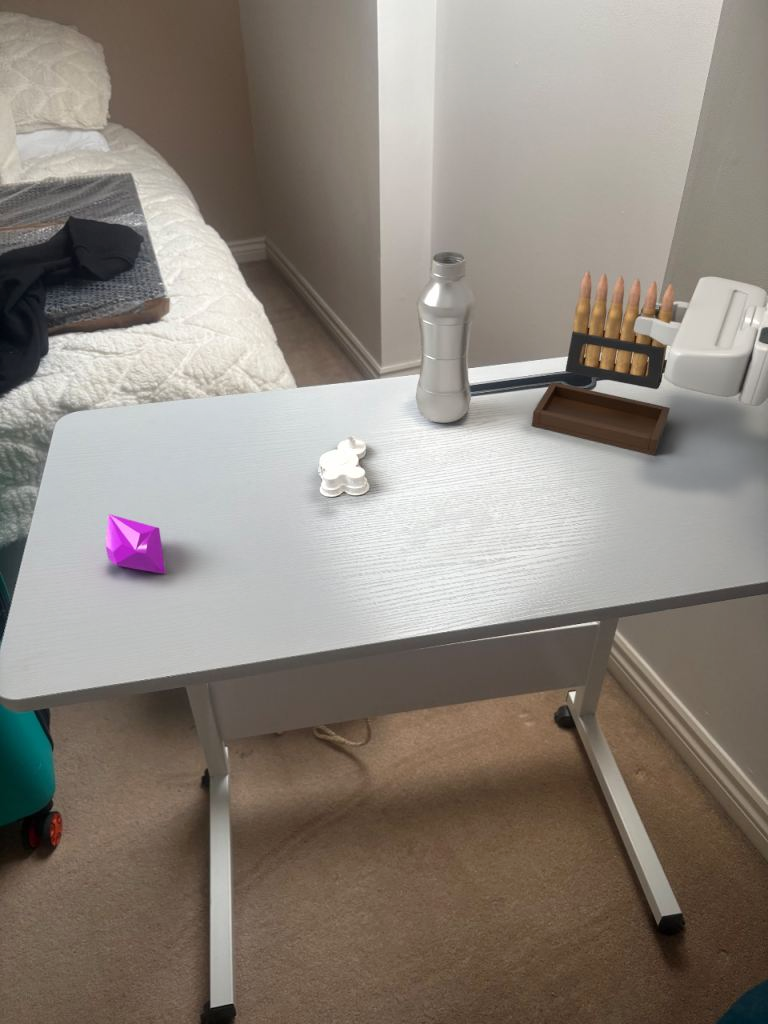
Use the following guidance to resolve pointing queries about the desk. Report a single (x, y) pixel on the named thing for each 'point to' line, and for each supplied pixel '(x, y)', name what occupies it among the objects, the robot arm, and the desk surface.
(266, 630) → the desk surface
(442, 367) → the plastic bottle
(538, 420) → the tray
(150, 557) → the crystal
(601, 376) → the ammunition clip
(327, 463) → the white lobed figurine
